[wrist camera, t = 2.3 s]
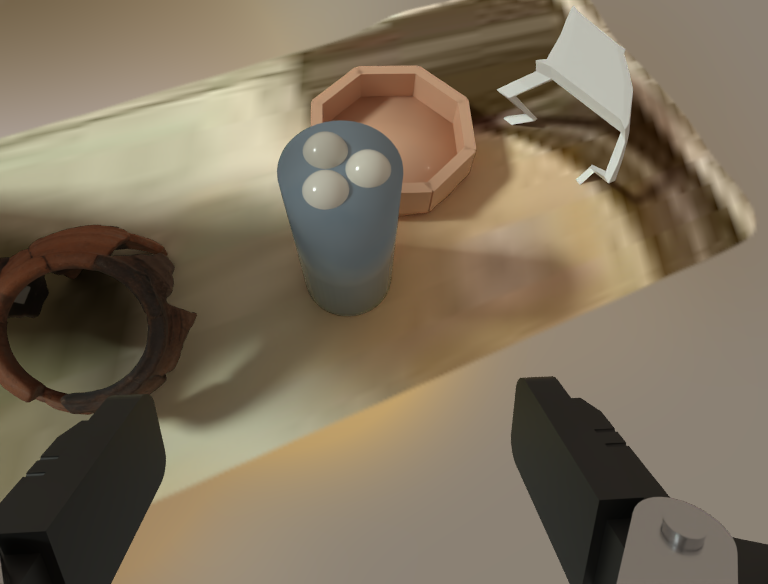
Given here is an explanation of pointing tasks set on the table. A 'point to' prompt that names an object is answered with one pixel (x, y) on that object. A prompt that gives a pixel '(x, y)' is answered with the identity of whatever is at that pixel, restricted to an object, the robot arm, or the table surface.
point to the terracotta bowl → (408, 126)
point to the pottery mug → (69, 257)
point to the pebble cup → (343, 212)
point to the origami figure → (584, 82)
